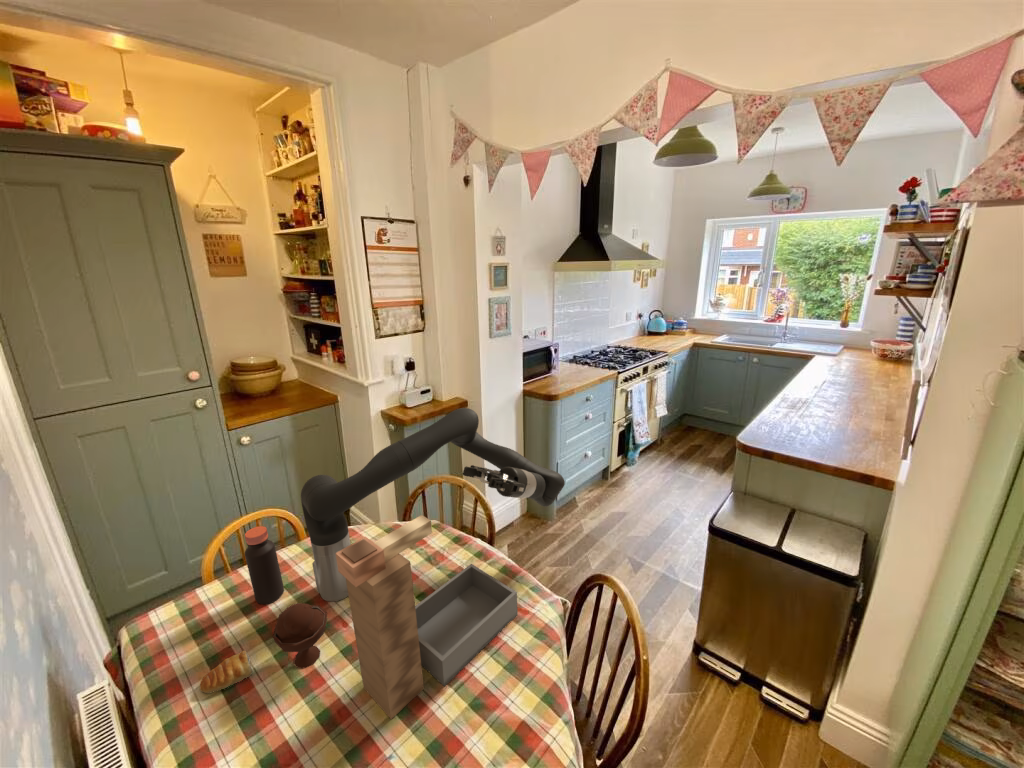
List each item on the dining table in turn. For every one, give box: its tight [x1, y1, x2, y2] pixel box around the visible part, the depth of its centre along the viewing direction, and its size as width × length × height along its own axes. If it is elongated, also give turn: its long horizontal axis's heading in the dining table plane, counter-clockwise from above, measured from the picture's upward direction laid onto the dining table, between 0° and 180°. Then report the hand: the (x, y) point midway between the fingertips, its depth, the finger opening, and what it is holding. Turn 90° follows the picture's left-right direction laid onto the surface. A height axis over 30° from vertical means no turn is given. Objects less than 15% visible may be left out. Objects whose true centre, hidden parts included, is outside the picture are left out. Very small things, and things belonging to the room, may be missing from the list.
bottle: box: [244, 525, 285, 605], centre depth 112 cm, size 7×7×20 cm
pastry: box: [199, 650, 253, 694], centre depth 92 cm, size 9×7×4 cm
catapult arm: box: [335, 514, 433, 587], centre depth 82 cm, size 18×6×4 cm, turn 140°
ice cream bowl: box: [272, 602, 328, 669], centre depth 94 cm, size 11×11×15 cm
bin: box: [415, 563, 518, 687], centre depth 102 cm, size 24×16×7 cm, turn 140°
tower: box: [346, 553, 425, 720], centre depth 85 cm, size 8×10×32 cm
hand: (477, 476), depth 100 cm, fingers open, 8 cm apart
